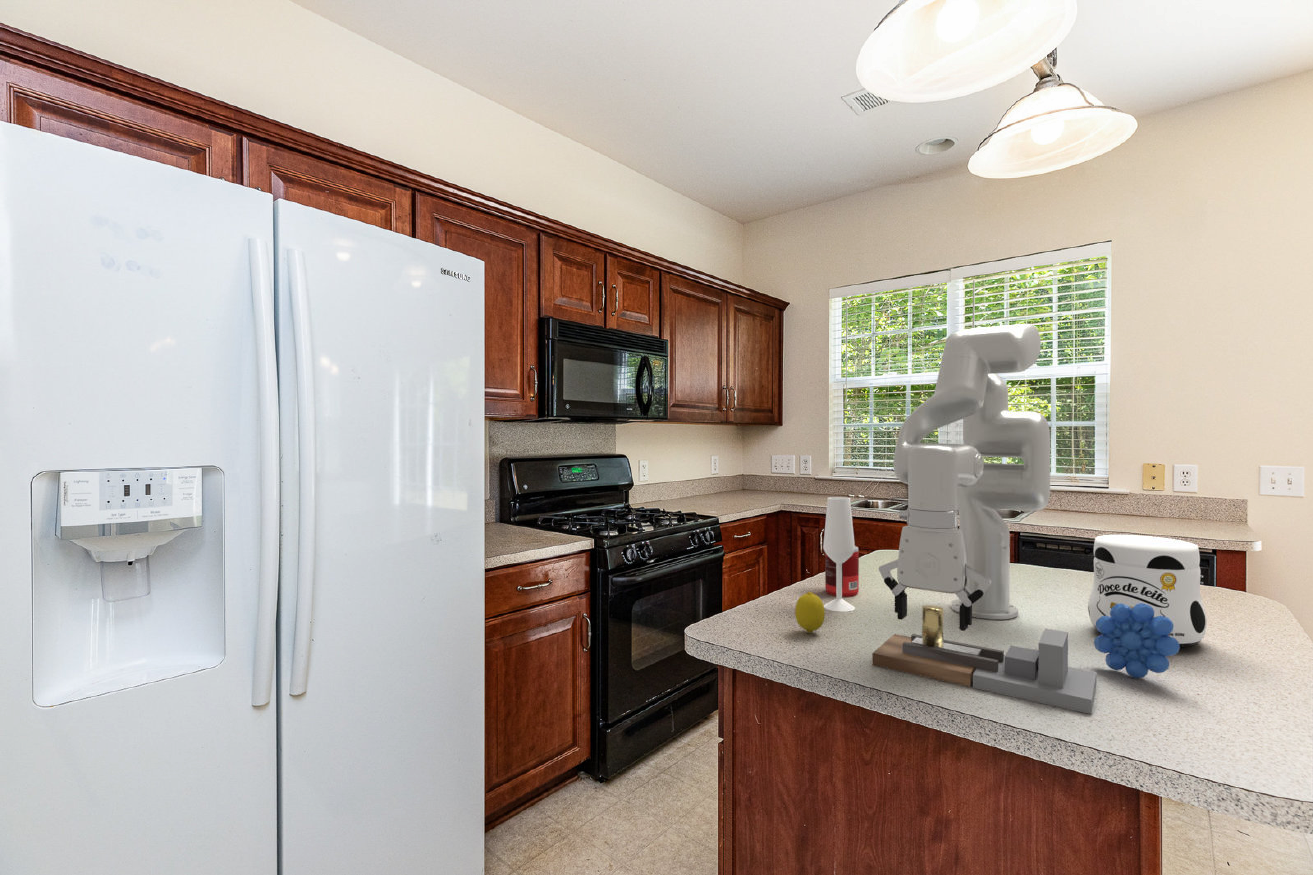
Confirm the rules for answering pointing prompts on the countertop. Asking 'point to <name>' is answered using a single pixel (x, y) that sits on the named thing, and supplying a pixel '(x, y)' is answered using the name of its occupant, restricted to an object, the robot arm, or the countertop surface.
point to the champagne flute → (839, 544)
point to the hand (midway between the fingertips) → (932, 623)
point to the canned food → (843, 575)
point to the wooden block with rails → (935, 660)
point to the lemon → (810, 612)
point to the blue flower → (1136, 640)
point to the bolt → (938, 632)
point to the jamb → (1041, 675)
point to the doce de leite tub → (1150, 581)
